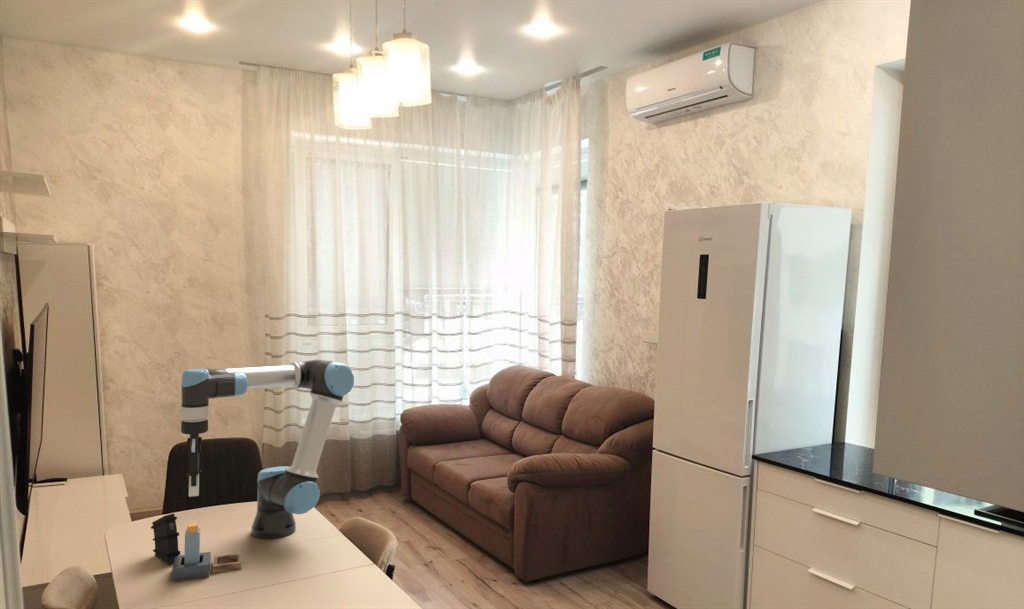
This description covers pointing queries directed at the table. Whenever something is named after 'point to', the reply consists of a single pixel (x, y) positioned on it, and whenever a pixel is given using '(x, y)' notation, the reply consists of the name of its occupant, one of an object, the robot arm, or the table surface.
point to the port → (191, 568)
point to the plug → (192, 544)
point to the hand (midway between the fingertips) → (193, 495)
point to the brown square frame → (227, 565)
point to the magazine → (166, 538)
